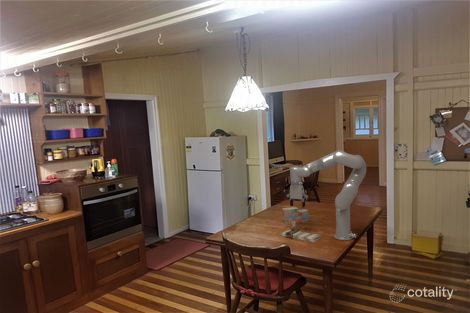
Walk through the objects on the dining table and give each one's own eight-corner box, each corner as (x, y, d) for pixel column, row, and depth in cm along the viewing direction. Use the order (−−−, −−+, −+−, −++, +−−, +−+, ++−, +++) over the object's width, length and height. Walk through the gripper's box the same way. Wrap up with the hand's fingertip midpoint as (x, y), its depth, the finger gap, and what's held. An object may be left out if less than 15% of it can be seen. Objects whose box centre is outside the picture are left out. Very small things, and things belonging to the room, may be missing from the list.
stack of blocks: (306, 219, 282) (305, 205, 281) (309, 221, 276) (308, 207, 275) (282, 222, 278) (281, 208, 277) (285, 224, 272) (284, 209, 271)
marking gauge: (301, 232, 247) (300, 219, 246) (291, 238, 237) (291, 223, 236) (295, 231, 250) (294, 218, 250) (285, 236, 240) (285, 222, 239)
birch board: (320, 237, 235) (320, 235, 235) (314, 242, 228) (314, 239, 227) (288, 232, 252) (288, 229, 252) (281, 235, 244) (281, 232, 244)
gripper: (309, 183, 238) (310, 206, 240) (288, 182, 249) (289, 204, 251) (304, 184, 233) (306, 208, 234) (283, 184, 243) (284, 206, 245)
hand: (297, 206), depth 242 cm, fingers open, 9 cm apart
